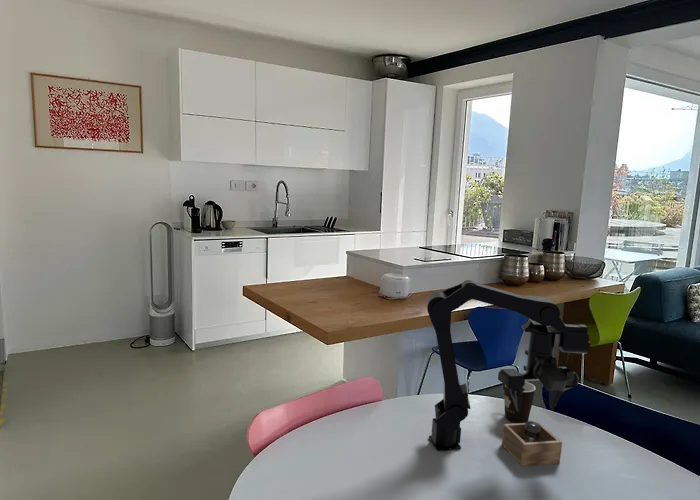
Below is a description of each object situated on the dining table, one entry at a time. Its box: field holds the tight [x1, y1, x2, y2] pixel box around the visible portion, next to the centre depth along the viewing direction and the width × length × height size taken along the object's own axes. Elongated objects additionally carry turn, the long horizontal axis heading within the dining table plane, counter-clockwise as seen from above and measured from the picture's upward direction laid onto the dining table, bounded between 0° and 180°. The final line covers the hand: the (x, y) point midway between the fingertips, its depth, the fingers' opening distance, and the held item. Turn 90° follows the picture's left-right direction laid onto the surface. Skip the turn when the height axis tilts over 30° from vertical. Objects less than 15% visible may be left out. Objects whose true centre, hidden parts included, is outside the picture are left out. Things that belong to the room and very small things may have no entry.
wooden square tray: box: [501, 421, 563, 467], centre depth 125 cm, size 10×10×6 cm
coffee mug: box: [502, 381, 537, 424], centre depth 144 cm, size 12×9×10 cm
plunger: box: [523, 420, 541, 443], centre depth 124 cm, size 7×7×7 cm
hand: (534, 409), depth 123 cm, fingers open, 9 cm apart
